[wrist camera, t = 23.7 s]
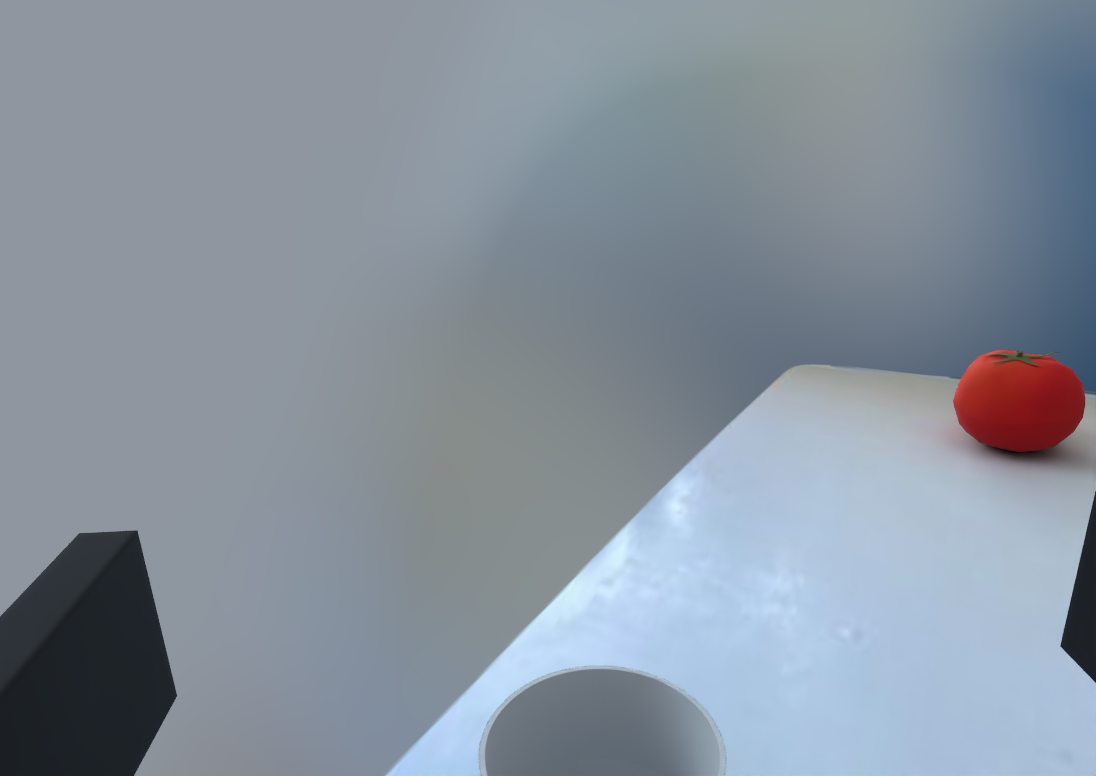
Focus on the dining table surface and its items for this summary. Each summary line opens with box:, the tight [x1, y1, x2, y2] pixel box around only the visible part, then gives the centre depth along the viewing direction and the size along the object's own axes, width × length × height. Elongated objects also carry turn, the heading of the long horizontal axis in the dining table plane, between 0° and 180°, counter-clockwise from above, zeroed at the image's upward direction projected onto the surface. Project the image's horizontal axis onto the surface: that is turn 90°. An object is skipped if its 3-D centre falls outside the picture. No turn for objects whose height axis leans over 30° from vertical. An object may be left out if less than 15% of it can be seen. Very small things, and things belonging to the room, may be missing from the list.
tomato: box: [953, 350, 1085, 452], centre depth 70 cm, size 9×10×8 cm
